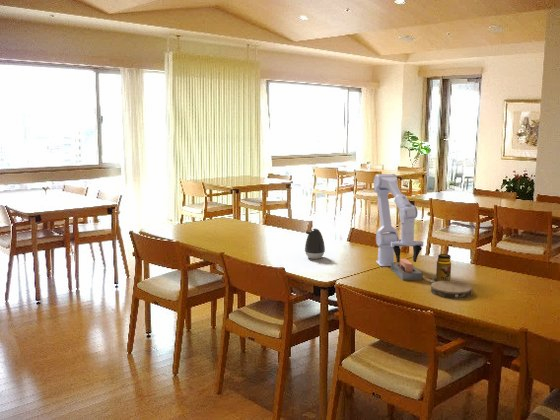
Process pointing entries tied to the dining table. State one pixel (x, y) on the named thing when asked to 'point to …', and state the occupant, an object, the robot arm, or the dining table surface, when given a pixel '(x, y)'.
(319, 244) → the pump dispenser
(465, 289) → the gray brown round disc
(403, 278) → the gray block with cutout
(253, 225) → the dining table surface
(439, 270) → the condiment
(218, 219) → the dining table surface
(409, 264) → the tall salmon pink prism
